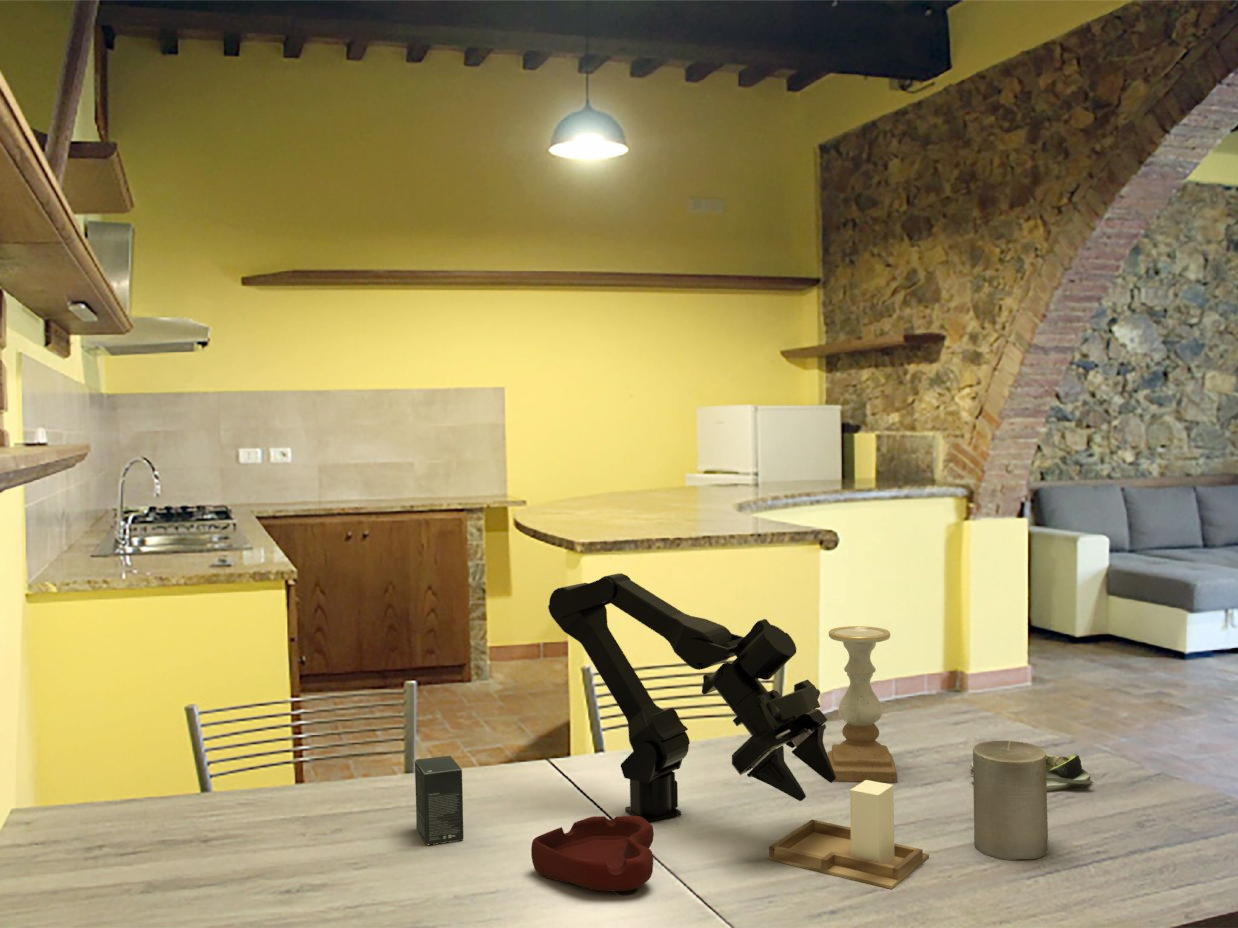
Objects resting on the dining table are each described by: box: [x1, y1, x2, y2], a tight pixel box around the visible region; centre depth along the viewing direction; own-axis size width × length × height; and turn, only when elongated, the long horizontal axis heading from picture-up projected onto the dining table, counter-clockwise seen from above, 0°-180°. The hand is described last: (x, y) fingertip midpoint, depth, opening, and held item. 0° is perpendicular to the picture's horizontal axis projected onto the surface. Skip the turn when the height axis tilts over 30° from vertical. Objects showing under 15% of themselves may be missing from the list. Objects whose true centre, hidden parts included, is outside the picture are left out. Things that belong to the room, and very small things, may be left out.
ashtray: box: [530, 815, 655, 896], centre depth 153 cm, size 18×16×5 cm
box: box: [414, 755, 464, 846], centre depth 168 cm, size 8×6×11 cm
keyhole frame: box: [768, 819, 930, 890], centre depth 156 cm, size 18×13×2 cm
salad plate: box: [969, 753, 1094, 792], centre depth 188 cm, size 19×18×5 cm
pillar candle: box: [972, 740, 1049, 861], centre depth 158 cm, size 10×10×15 cm
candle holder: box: [827, 625, 898, 784], centre depth 193 cm, size 11×11×24 cm
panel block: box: [849, 780, 895, 864], centre depth 154 cm, size 4×5×10 cm
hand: (819, 789), depth 158 cm, fingers open, 9 cm apart
